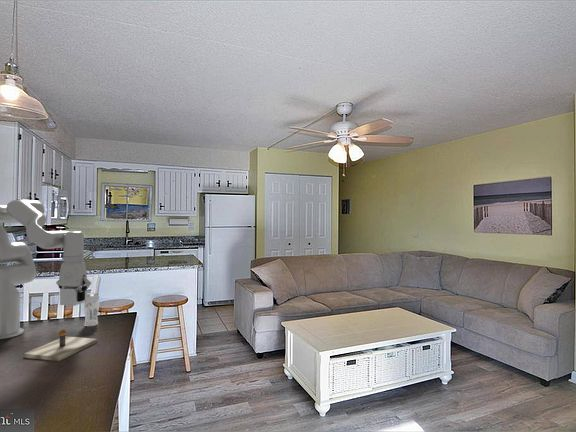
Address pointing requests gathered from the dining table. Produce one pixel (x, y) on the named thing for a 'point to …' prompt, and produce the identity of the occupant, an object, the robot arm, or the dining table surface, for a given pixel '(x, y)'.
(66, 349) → the board
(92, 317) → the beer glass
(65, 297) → the white open box
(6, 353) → the dining table surface
